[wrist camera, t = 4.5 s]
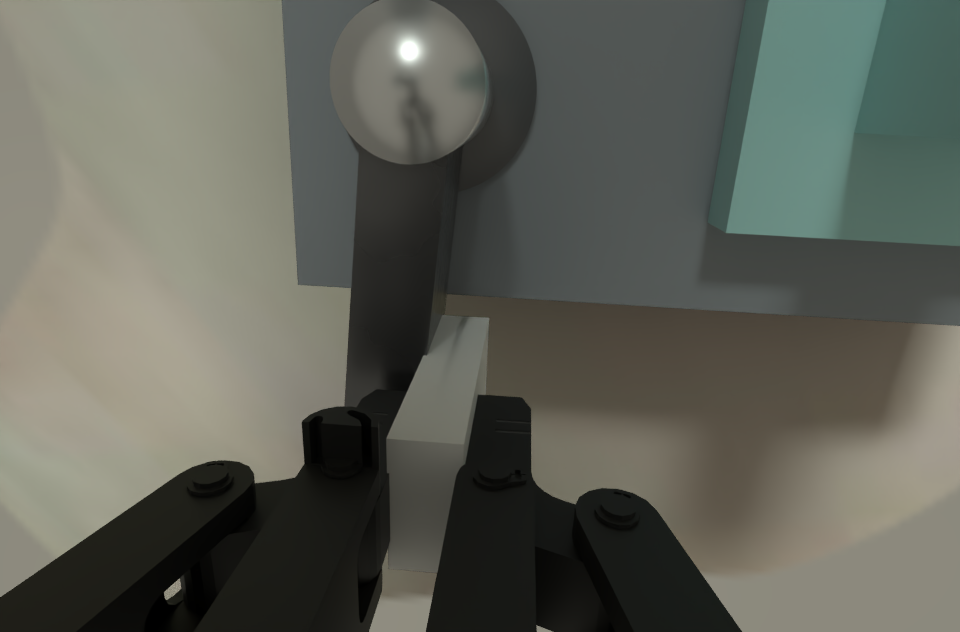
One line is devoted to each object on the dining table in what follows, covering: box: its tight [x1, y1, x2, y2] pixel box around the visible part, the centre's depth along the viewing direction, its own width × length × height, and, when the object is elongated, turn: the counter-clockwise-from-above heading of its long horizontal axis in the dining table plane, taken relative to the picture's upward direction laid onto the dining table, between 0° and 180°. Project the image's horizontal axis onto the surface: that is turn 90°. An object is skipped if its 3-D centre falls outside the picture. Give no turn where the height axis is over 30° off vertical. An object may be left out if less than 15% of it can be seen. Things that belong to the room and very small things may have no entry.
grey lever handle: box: [330, 0, 494, 407], centre depth 15 cm, size 12×3×4 cm, turn 173°
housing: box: [282, 0, 960, 326], centre depth 17 cm, size 14×22×6 cm, turn 87°
